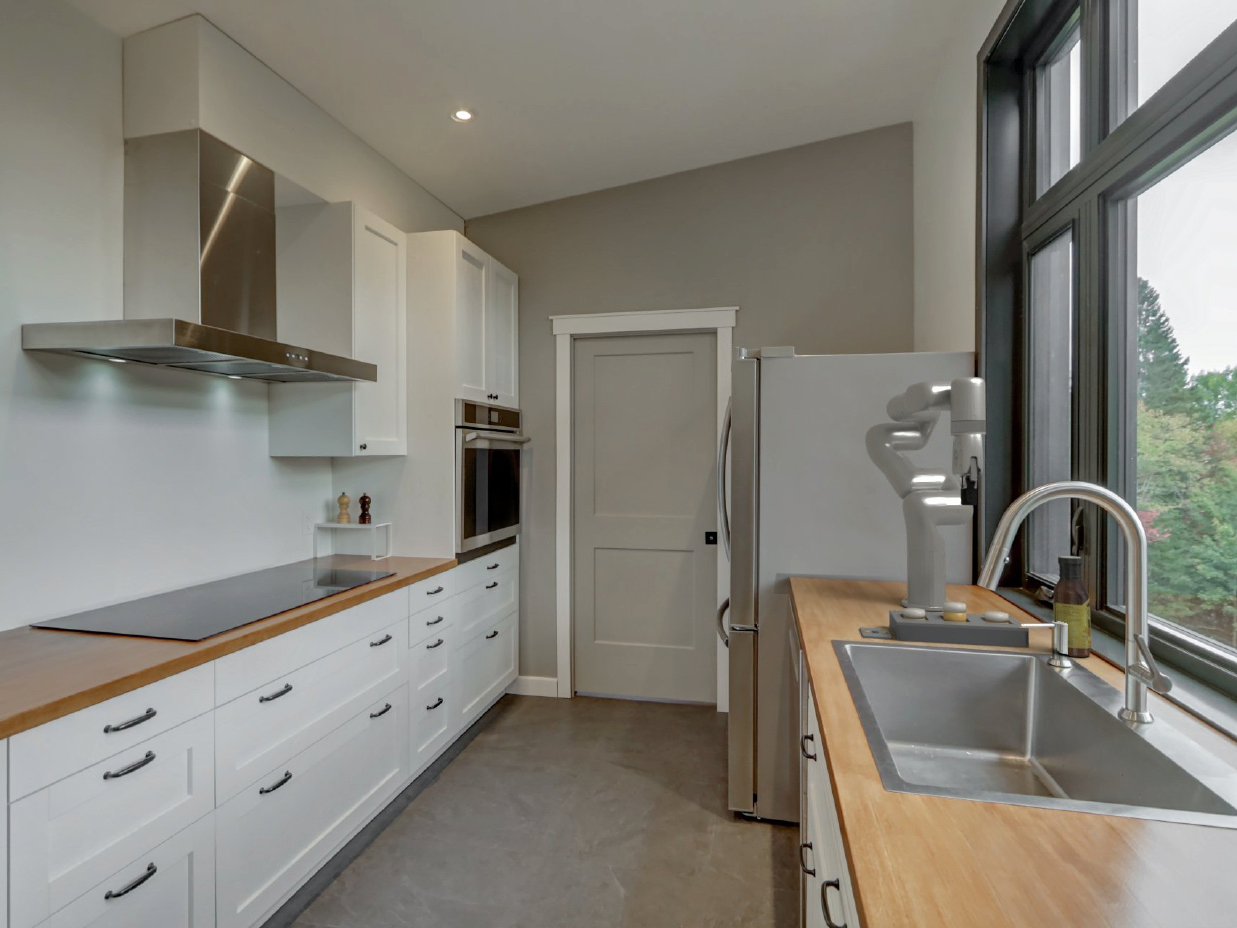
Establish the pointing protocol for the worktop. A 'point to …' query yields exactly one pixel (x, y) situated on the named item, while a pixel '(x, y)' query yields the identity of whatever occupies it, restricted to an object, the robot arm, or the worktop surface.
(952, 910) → the worktop surface
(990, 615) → the button
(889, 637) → the card
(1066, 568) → the sauce bottle
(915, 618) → the button
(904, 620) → the button board
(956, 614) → the button middle
